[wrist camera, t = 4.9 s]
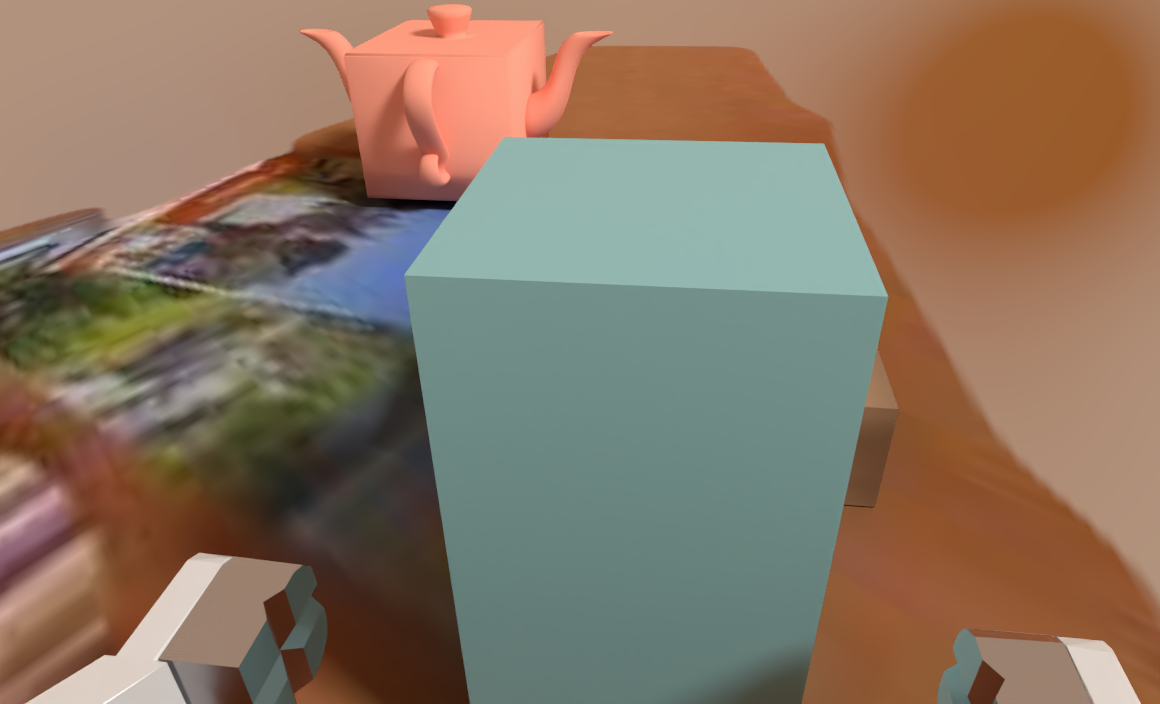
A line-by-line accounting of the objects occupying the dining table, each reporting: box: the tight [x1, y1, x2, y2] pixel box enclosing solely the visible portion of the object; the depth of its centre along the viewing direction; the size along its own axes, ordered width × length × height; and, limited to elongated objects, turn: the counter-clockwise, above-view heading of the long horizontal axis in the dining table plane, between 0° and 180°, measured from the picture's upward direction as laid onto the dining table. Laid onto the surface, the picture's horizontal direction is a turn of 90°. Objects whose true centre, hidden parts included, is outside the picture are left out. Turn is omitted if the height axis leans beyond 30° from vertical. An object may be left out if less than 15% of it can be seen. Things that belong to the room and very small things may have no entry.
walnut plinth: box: [844, 349, 899, 507], centre depth 24 cm, size 11×11×3 cm
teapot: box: [299, 4, 613, 201], centre depth 38 cm, size 12×15×8 cm
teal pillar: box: [404, 137, 888, 704], centre depth 13 cm, size 5×5×10 cm
